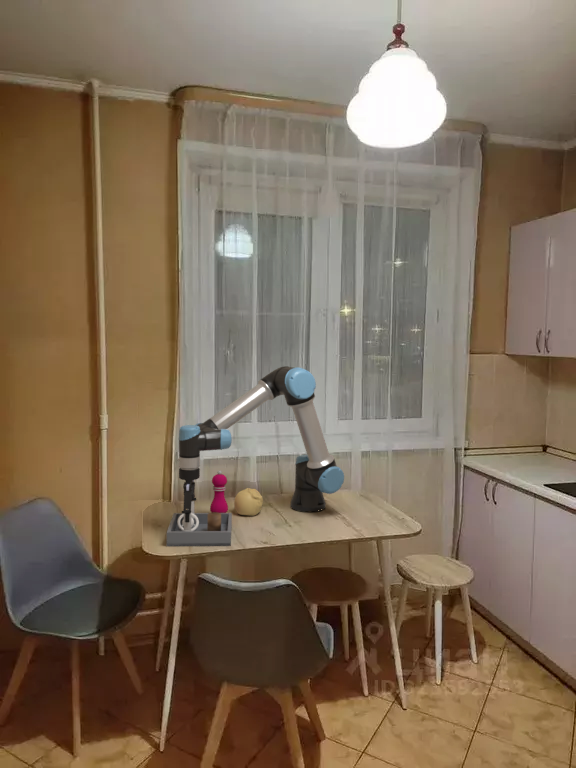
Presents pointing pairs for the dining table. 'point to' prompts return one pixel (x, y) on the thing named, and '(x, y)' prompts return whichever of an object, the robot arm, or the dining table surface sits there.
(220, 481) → the pepper mill
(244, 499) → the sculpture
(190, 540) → the tray
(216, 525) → the walnut cylinder
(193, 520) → the ring around a ball
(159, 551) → the dining table surface
